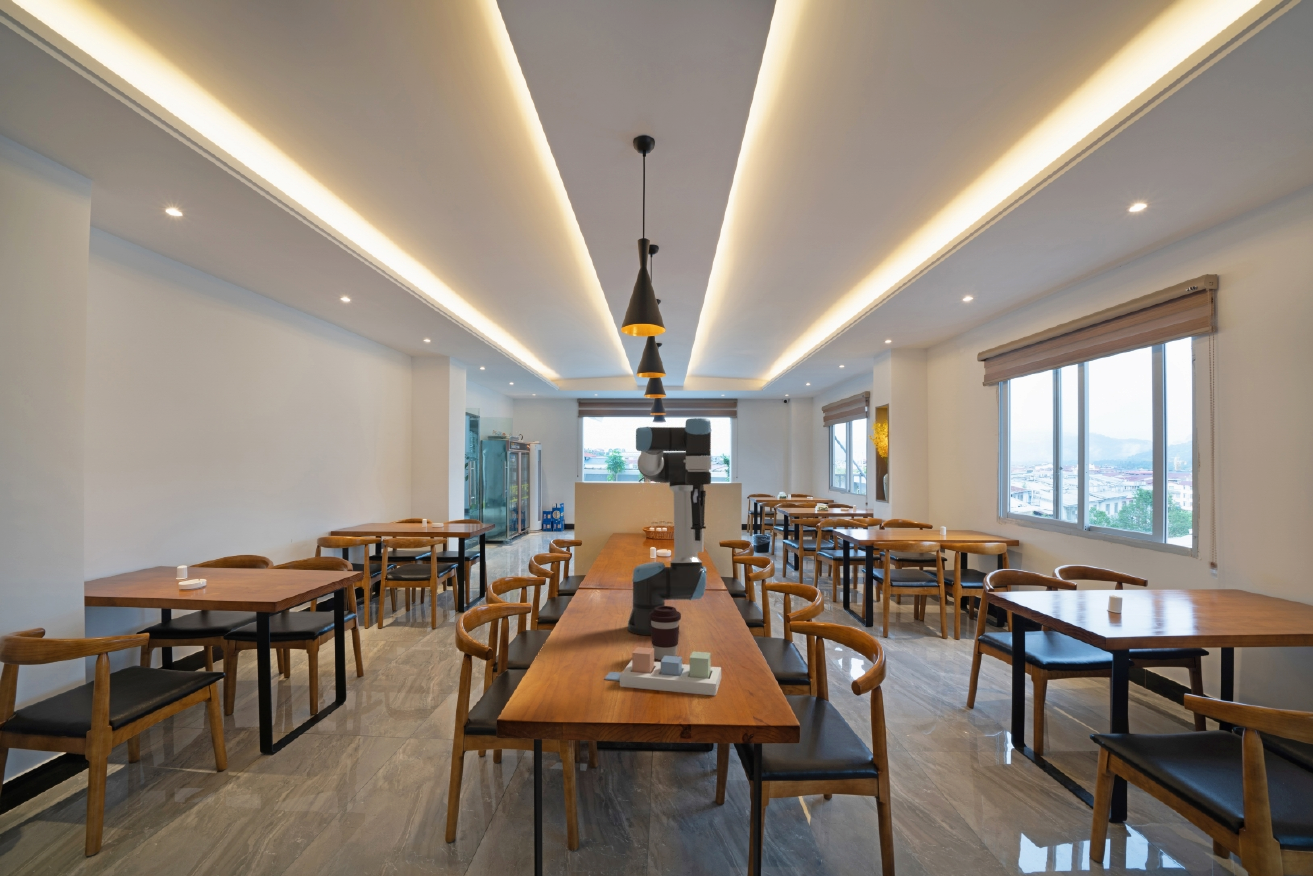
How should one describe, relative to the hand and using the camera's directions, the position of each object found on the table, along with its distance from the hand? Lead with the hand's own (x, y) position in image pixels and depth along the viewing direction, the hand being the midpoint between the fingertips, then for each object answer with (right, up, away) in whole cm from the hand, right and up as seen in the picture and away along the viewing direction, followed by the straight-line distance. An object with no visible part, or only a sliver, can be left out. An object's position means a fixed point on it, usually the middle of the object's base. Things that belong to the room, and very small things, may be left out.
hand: (698, 551), depth 165 cm
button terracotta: (-16, -31, -8) cm, 36 cm away
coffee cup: (-10, -35, +10) cm, 38 cm away
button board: (-8, -34, -10) cm, 36 cm away
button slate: (-8, -33, -10) cm, 35 cm away
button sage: (0, -31, -11) cm, 33 cm away
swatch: (-24, -34, -6) cm, 42 cm away
